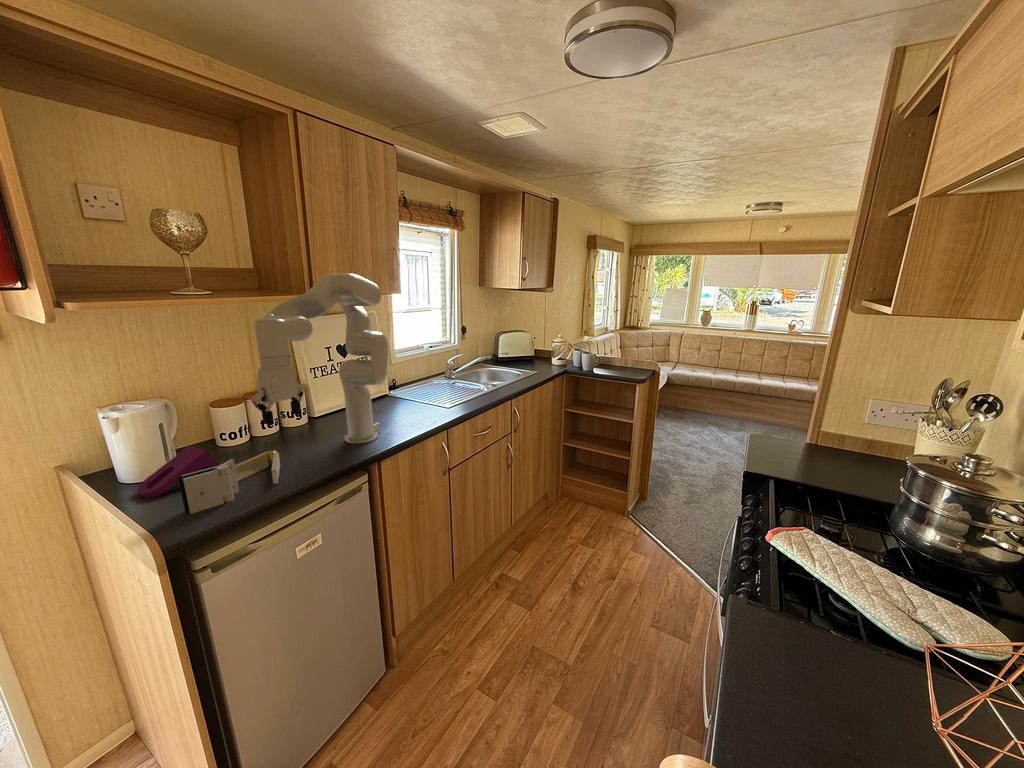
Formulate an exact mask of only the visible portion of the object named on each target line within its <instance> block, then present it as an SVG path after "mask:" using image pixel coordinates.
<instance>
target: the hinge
mask: <svg viewBox="0 0 1024 768" xmlns="http://www.w3.org/2000/svg"><path fill="white" fill-rule="evenodd" d="M235 465H236V464H235V460H234V459H229V460H226V461H225V462H223V463H221V464H219V465H218V467H217V466H216V467H212V468H208V469H205V470H201V471H197V472H193V473H189V474H185V475H182V476H181V477H178V480H179V481H178V486H179V489H180V494H181V498H182V503H183V507H184V512H185V514H186V515H188V514H191V515H193V514H195V513H198V512H201V511H205V510H207V509H211V508H215V507H218V506H221V505H224V504H225V503H228V502H229V503H230V502H231V501H234V500H235V496H234V495H236V494H237V493H238V492H239V491H240V487H239V483H238V482H239V481H237V476H236V470H235Z"/></svg>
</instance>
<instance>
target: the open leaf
mask: <svg viewBox="0 0 1024 768" xmlns="http://www.w3.org/2000/svg"><path fill="white" fill-rule="evenodd" d="M280 468H281V462H280V454H279V452H278V451H277V453H274V457H273V463H272V466H271V476H272V477H271V478H272V484H273V485H275V484H279V478H280Z"/></svg>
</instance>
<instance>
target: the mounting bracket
mask: <svg viewBox="0 0 1024 768" xmlns="http://www.w3.org/2000/svg"><path fill="white" fill-rule="evenodd" d="M216 466H217V467H218V466H219V464H218V462H217V460H216V459H215V458H213V456H212V455H211V454H210V453H209V452H208V451H207V450H205V449H202V448H199V447H196V446H193V445H192V446H191V445H189V446H187V447H185V448H184V449H183V450H182V451H181V452H179V453H178V454H176V455H175V456H174V457H172V459H170V460H169V461H168V462H166V463H164V465H162V466H161V467H160V468H158V469H157V470H155V472H153V473H151V474H150V475H149V476H148V477H147V478H145V479H144V480H143V481H142V482H141V483H140V485H139V486H138V487H137V493H138V494H139V495H140V496H141V497H143V498H144V497H146V498H145V499H153V498H156V497H158V496H160V495H162V494H163V493H166V492H167V491H168V490H169V489H171V488H172V487H173V486H174V485H176V484H177V483H179V480H178V477H181V476H182V475H185V474H189V473H193V472H197V471H201V470H205V469H208V468H212V467H216Z"/></svg>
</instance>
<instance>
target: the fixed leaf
mask: <svg viewBox="0 0 1024 768" xmlns="http://www.w3.org/2000/svg"><path fill="white" fill-rule="evenodd" d="M277 452H278V451H277V450H275V449H274V450H269V451H265V452H262V453H260V454H258V455H256V456H253V457H251V458H249V459H247V460H244V461H242V462H240V463H237V464H235V470H236V476H237V481H238V482H240V481H242V480H244V479H246V478H248V477H250V476H252V475H254V474H256V473H258V472H260V471H263V470H265V469H267V468H270V467H272V463H273V457H274V453H277Z"/></svg>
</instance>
